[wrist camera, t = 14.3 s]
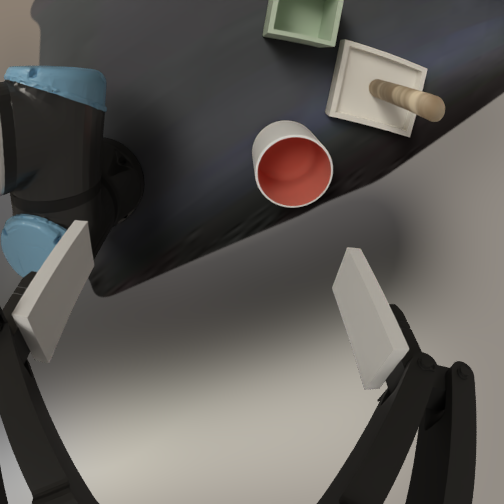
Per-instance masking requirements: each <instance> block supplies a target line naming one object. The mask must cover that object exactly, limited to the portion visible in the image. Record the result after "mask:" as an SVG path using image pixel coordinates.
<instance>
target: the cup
mask: <svg viewBox="0 0 504 504" xmlns="http://www.w3.org/2000/svg"><path fill="white" fill-rule="evenodd" d="M252 158H253V165H254V172H255V179H256V183H257V185H258V188H259V189H260V191H261V192H262V194H263V195H264V196H265V197H266V198H267V199H268V200H270V201H271V202H273V203H275V204H277V205H279V206H283V207H290V208H295V207H302V206H306V205H308V204H310V203H312V202H314V201H316V200H317V199H319V198H320V197H321V196H322V195H323V194H324V193H325V191H326V190H327V189H328V187H329V185H330V183H331V180H332V176H333V163H332V159H331V157H330V155H329V153H328V151H327V150H326V148H325V147H324V146H323V145H322V144H321V142H320V141H319V140H318V139H317V138H316V137H315V136H314V135H313V133H312V132H311V131H310V130H309V129H308V128H307V127H305V126H304V125H302V124H300V123H297V122H294V121H287V120H285V121H277V122H274V123H272V124H270V125H268V126H266V127H265V128H264V129H262V130H261V131H260V133H259V134H258V135H257V137H256V139H255V141H254V144H253V148H252Z"/></svg>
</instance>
